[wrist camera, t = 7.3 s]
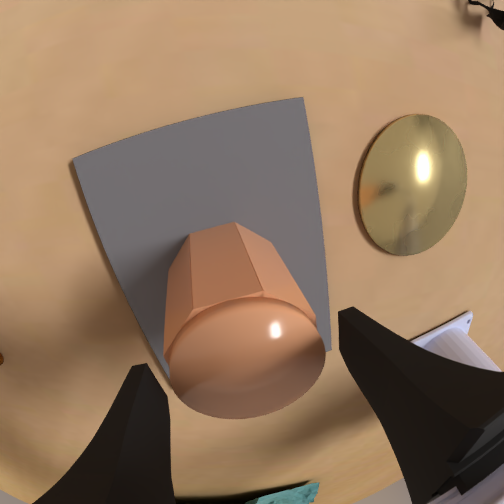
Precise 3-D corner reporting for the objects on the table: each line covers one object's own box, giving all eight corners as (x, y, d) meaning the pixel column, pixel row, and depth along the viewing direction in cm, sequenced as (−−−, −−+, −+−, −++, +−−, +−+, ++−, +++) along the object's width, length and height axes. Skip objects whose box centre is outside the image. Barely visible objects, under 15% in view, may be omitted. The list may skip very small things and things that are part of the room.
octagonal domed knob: (282, 301, 18) (327, 395, 11) (190, 326, 17) (199, 430, 11) (266, 213, 15) (321, 290, 9) (158, 242, 15) (143, 337, 9)
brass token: (460, 235, 19) (462, 236, 19) (361, 270, 18) (363, 272, 18) (462, 112, 15) (465, 112, 15) (349, 120, 14) (352, 120, 14)
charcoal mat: (328, 345, 21) (331, 349, 20) (177, 387, 20) (177, 392, 19) (299, 97, 13) (303, 97, 13) (75, 157, 13) (72, 158, 12)
